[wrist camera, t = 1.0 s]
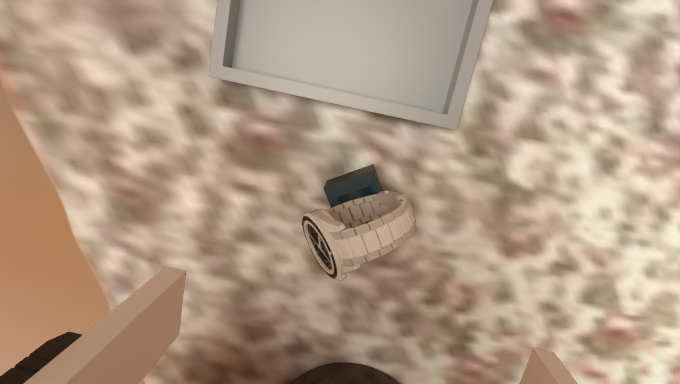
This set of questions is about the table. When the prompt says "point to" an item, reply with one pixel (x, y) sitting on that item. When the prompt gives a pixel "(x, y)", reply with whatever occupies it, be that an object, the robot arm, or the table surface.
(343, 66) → the tray
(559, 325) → the table surface
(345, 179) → the watch
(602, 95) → the table surface
